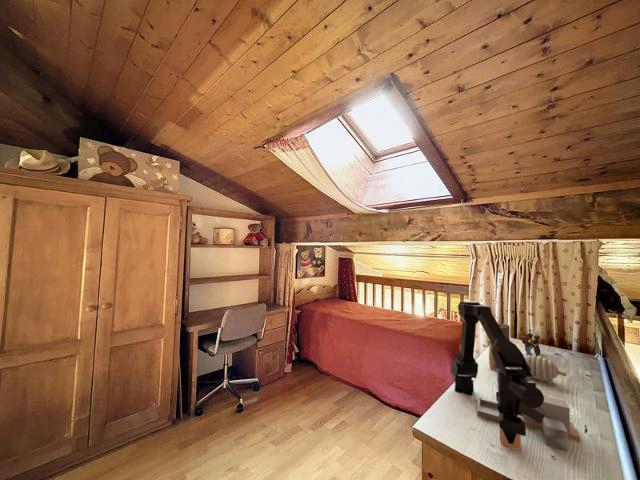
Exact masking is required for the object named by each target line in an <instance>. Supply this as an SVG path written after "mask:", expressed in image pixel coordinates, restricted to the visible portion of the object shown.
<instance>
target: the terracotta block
mask: <svg viewBox="0 0 640 480" xmlns="http://www.w3.org/2000/svg"><path fill="white" fill-rule="evenodd" d="M521 436H522V435H519V434H516V437H515V440H514V443H513V444H510V443H508V441H507V438H506V436H505V434H504V432H503V429H501V428H500V427H499V441H500V445H503V446H505V445H506V447H508V446H509V448H511V447H512V449H514V448H516V450H517V449H519V450H518V451H520V450H521V451H522V445H521V444H522V439H521V438H522V437H521Z"/></svg>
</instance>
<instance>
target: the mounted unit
mask: <svg viewBox="0 0 640 480" xmlns="http://www.w3.org/2000/svg"><path fill="white" fill-rule="evenodd" d="M543 396H544V402H543V404H542V405H541V407H542V408H543V409H544V412H545V416H544V417H545V418H548V419H552V420H556V421H560V422H563V424H564V426H565V428H566V430H567V435H568V439H569V440H572V441H576V442H579V443H581V436H580V434H579V432H578V431H577V429H576V427H575V425H574V423H573V422H572V421H571V419H570V418H571V416H570V411H571V410H570V406H569V405H568V403H567V402H566V400H564V399H560V398H555V397H551V396H547V395H543ZM517 417H519V418H521V419H522V420H523V421H524V423H525V427H528V428H531V429H535V430H538V431H541V432H543V425H542V422H541V423H538V422H536V421H535V420H534V419H532V418H530V417H528V416H527V415H525V414H524V413H523V416H521V415H517Z"/></svg>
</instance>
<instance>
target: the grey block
mask: <svg viewBox="0 0 640 480" xmlns="http://www.w3.org/2000/svg"><path fill="white" fill-rule="evenodd" d="M542 425H543V431H542V437H543V440H544V443H545V446H547V447H551V448H552V449H553V448H554V449H557V450H560V451H563V452H566V453H567V452H568V451H569V449H568V448H569V446H568V445H569V444H568V441H569V440H568V439H569V438H568V435H567V430H566V428H565V426H564V424H563V422H560V421H556V420H552V419H548V418H545V417H544V418H543V420H542Z"/></svg>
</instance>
